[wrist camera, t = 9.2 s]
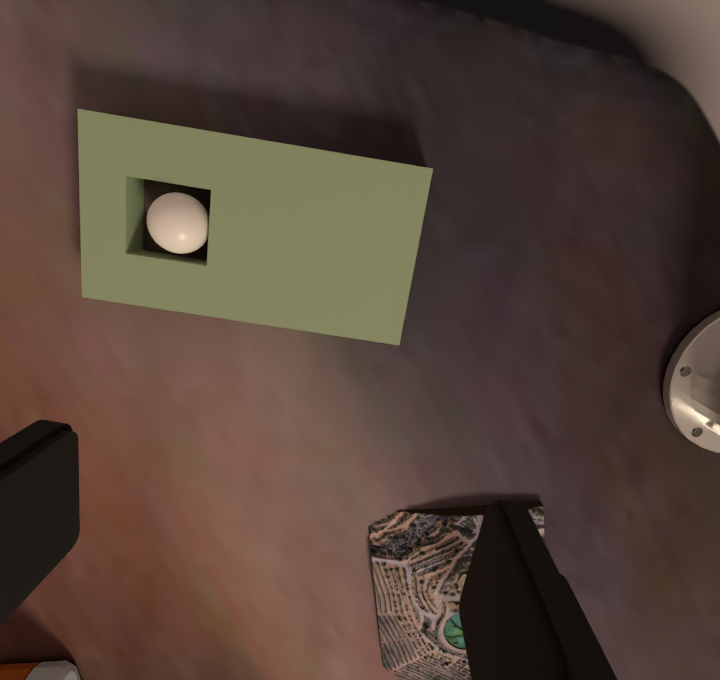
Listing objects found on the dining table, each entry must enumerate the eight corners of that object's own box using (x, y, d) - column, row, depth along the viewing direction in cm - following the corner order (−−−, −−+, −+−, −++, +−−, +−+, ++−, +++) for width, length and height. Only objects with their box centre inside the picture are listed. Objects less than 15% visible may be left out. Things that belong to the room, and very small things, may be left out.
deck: (427, 171, 31) (433, 168, 28) (396, 335, 34) (399, 345, 32) (100, 116, 30) (77, 108, 27) (102, 290, 33) (81, 296, 31)
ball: (183, 192, 32) (225, 199, 30) (181, 247, 33) (221, 258, 31) (133, 185, 28) (177, 193, 27) (132, 247, 29) (174, 259, 28)
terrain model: (367, 507, 39) (368, 532, 36) (537, 495, 39) (552, 519, 36) (383, 675, 45) (384, 709, 42) (531, 666, 45) (543, 700, 42)
